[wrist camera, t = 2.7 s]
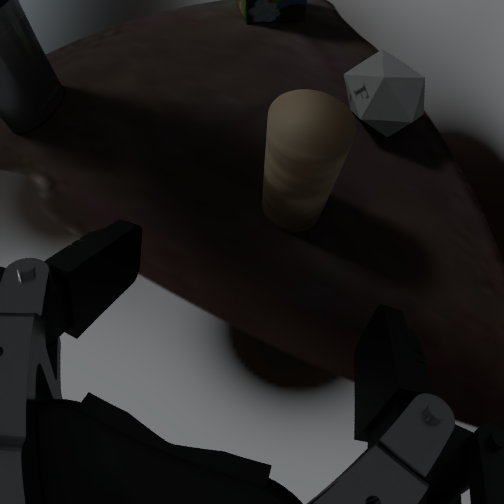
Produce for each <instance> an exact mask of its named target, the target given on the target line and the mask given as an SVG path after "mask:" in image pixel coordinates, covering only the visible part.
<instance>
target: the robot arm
mask: <svg viewBox="0 0 504 504" xmlns="http://www.w3.org/2000/svg"><path fill="white" fill-rule="evenodd" d="M63 94H64V89H63V87H62V85H61V83H60V81H59V80H58V78H57V76H56V74H55V72H54V70H53V68H52V66H51V64H50V63H49V61H48V59H47V57H46V55H45V53H44V51H43V49H42V47H41V45H40V43H39V41H38V40H37V38H36V36H35V34H34V32H33V30H32V28H31V26H30V23H29V21H28V19H27V17H26V15H25V13H24V11H23V9H22V7H21V5H20V3H19V0H0V117H1V118H2V119H3V121H4V122H5V123H6V124H7V126H8V127H9V128H10V129H11V131H13V132H14V133H24V132H27V131H30V130H32V129H34V128H35V127H37V126H38V125H40V124H41V123H42V122H44V121H45V120H46V119H47V118H48V117H49V116H50V115H51V114H52V113H53V112H54V111H55V110H56V108H57V107H58V105H59V104H60V102H61V100H62V98H63ZM141 242H142V228H141V226H139V225H136V224H133V223H130V222H127V221H124V220H118V221H116V222H114V223H113V224H111V225H109V226H108V227H106V228H105V229H100V230H96V231H93V232H90V233H88V234H86V235H85V236H83V237H81V238H80V240H77V241H75V242H74V243H72V245H69V246H67V247H66V248H64V249H62V250H61V251H59V252H58V253H56V254H55V255H53V256H52V257H50V258H48V259H47V260H46V261H42V260H39V259H35V258H25V259H20V260H17V261H15V262H13V263H11V264H10V265H9V266H8V267H7V268H4V267H0V504H303V503H302V502H301V501H300V500H299V499H298V498H297V497H296V496H295V495H294V494H293V493H291V492H290V491H288V489H286V488H285V487H284V486H282V485H280V484H279V483H277V482H276V481H274V480H271V479H270V478H269V474H270V469H271V465H268V464H265V463H261V462H257V461H253V460H250V459H246V458H243V457H240V456H236V455H233V454H230V453H227V452H223V451H216V450H208V449H200V448H193V447H187V446H181V445H174V444H171V443H169V442H167V441H165V440H164V439H162V438H161V437H159V436H158V435H157V434H155V433H154V432H152V431H151V430H150V429H149V428H147V427H146V426H145V425H143V424H142V423H141V422H139V421H138V420H137V419H136V418H134V417H133V416H132V415H130V414H129V413H128V412H126V411H124V410H122V409H120V408H118V407H116V406H113V405H112V404H110V403H108V402H106V401H104V400H102V399H100V398H99V397H97V396H95V395H93V394H91V393H88V394H87V395H86V397H85V398H84V399H83V400H82V402H77V401H73V400H67V399H62V395H61V382H60V350H61V342H60V337H59V336H60V335H61V334H63V333H64V332H66V333H67V334H69V335H71V336H73V337H74V338H76V339H77V338H78V337H79V336H80V335H81V334H82V333H83V332H84V331H85V330H86V329H87V328H88V327H89V326H90V325H91V324H92V323H93V322H94V321H95V320H96V319H97V318H98V317H99V316H100V315H101V314H102V313H103V312H104V311H105V310H106V309H107V308H108V307H109V306H110V305H111V304H112V303H113V302H114V301H115V300H116V299H117V298H118V297H119V296H120V295H121V294H122V293H123V292H124V291H125V290H126V289H128V287H130V286H131V284H133V282H134V281H135V279H136V277H137V275H138V272H139V268H140V255H141ZM422 354H423V351H422V348H421V344H420V341H419V339H418V338H417V337H416V335H415V334H414V332H413V331H412V330H411V329H408V328H407V325H406V321H405V318H404V314H403V312H402V311H401V310H398V309H395V308H392V307H389V306H385V305H382V304H380V305H379V306H378V307H377V308H376V310H375V312H374V314H373V316H372V318H371V320H370V321H369V323H368V325H367V327H366V329H365V331H364V332H363V334H362V336H361V338H360V340H359V341H358V344H357V346H356V350H355V354H354V380H355V430H354V434H355V436H354V439H355V440H359V441H365V442H368V449H367V450H366V451H365V452H364V453H362V454H361V455H360V457H359V458H358V459H357V460H356V461H355V462H354V463H352V464H351V465H350V466H349V467H348V468H347V469H346V470H345V471H344V472H343V473H342V474H341V475H340V476H339V477H338V478H337V479H335V481H333V482H332V483H331V484H330V485H329V486H328V487H326V488H325V489H324V490H323V491H322V492H321V493H320V494H318V495H317V496H316V497H315V498H313V499H312V500H311V501H309V502H308V503H307V504H461V494H462V493H464V492H465V491H467V490H468V489H470V498H471V504H504V431H503V430H502V429H501V428H500V427H499V426H497V425H496V424H493V423H484V424H482V425H481V426H480V427H479V428H478V429H477V430H476V431H475V432H474V433H473V432H471V431H469V430H466V429H464V428H462V427H460V426H458V425H456V424H455V418H454V415H453V412H452V410H451V409H450V407H449V406H448V405H447V404H446V402H444V401H443V400H442V399H440V398H439V397H437V396H435V395H434V394H433V389H432V385H431V381H430V377H429V373H428V369H427V366H426V365H425V358H424V355H422Z"/></svg>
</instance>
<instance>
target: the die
mask: <svg viewBox="0 0 504 504" xmlns="http://www.w3.org/2000/svg"><path fill="white" fill-rule="evenodd" d="M344 78H345V83H346V88H347V94H348V99H349V105H350V110H351V111H352V112H353V113H354V114H355V115H356V116H357V117H358V118H360V119H361V120H362V121H364V122H365V123H367V124H368V125H370V126H371V127H373V128H374V129H376V130H377V131H379V132H380V133H382V134H383V135H385V136H386V137H389V136H391V135H392V134H394V133H396V132H397V131H399V130H400V129H402V128H404V127H405V126H407V125H409V124H410V123H412V122H413V121H415V120H416V119H418V118H419V117H420V116H422V115H423V112H424V87H425V78H424V77H423V76H421V75H420V74H418V73H417V72H416V71H414V70H413V69H412V68H410V67H409V66H407V65H406V64H404V63H403V62H401V61H399V60H398V59H396V58H395V57H393V56H392V55H390V54H389V53H387V52H385V51H384V50H381V51H379V52H378V53H376V54H374V55H373V56H371V57H370V58H368V59H367V60H365V61H363V62H362V63H360V64H359V65H357V66H356V67H354V68H353V69H351V70H350V71H348V72H347V73H345V74H344Z"/></svg>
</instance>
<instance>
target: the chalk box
mask: <svg viewBox="0 0 504 504" xmlns="http://www.w3.org/2000/svg"><path fill="white" fill-rule="evenodd" d="M306 1H307V0H236V2H237V4H238V7H239V9H240V11H241V13H242V15H243V17H244V20H245V22H246V24H249V23H260V22H281V21H304V17H305V9H306Z"/></svg>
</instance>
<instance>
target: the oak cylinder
mask: <svg viewBox="0 0 504 504" xmlns="http://www.w3.org/2000/svg"><path fill="white" fill-rule="evenodd" d="M355 134H356V121H355V118H354V116H353V114H352V113H351V111H350V110H349V109H348V107H347V106H346V105H345V104H343V103H342V102H341V101H340V100H338V99H337V98H335V97H333V96H331V95H329V94H326V93H324V92H320V91H316V90H308V89H300V90H294V91H290V92H287V93H284V94H282V95H281V96H279V97H278V98H276V99H275V100H274V101H273V103H272V104H271V106H270V108H269V112H268V123H267V137H266V151H265V165H264V179H263V193H262V210H263V213H264V215H265V217H266V219H267V220H268V221H269V222H270V223H271V224H272V225H273V226H275V227H276V228H278V229H280V230H282V231H286V232H301V231H305V230H307V229H309V228H311V227H312V226H313V225H314V224H315V223H316V222H317V221H318V219H319V217H320V215H321V213H322V210H323V208H324V206H325V204H326V202H327V199H328V197H329V195H330V193H331V190H332V188H333V186H334V184H335V181H336V179H337V177H338V175H339V172H340V170H341V168H342V165H343V163H344V161H345V159H346V156H347V154H348V152H349V149H350V147H351V145H352V142H353V140H354V137H355Z"/></svg>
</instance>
